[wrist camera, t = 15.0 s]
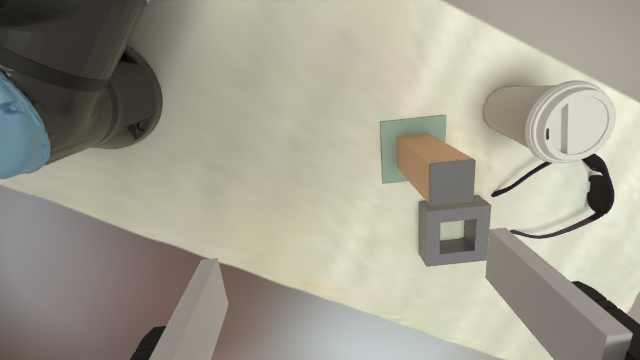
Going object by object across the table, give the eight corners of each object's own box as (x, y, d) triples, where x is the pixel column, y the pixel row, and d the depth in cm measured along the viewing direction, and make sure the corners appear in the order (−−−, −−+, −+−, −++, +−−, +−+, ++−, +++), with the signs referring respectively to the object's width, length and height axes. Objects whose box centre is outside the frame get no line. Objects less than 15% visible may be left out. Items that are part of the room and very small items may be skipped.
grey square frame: (418, 253, 59) (426, 266, 55) (419, 201, 56) (427, 211, 52) (475, 247, 59) (486, 260, 55) (478, 195, 56) (491, 205, 52)
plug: (397, 167, 53) (430, 205, 39) (396, 136, 51) (431, 164, 37) (428, 164, 53) (473, 201, 39) (428, 133, 51) (475, 160, 37)
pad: (382, 183, 54) (382, 183, 54) (380, 121, 51) (380, 122, 51) (443, 176, 54) (444, 177, 54) (445, 114, 51) (446, 115, 51)
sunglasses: (598, 197, 57) (625, 209, 52) (514, 243, 59) (532, 259, 55) (573, 132, 53) (599, 138, 48) (483, 184, 55) (500, 195, 51)
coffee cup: (484, 71, 49) (556, 74, 35) (544, 81, 50) (639, 89, 36) (464, 134, 52) (524, 161, 38) (521, 143, 53) (600, 173, 39)
